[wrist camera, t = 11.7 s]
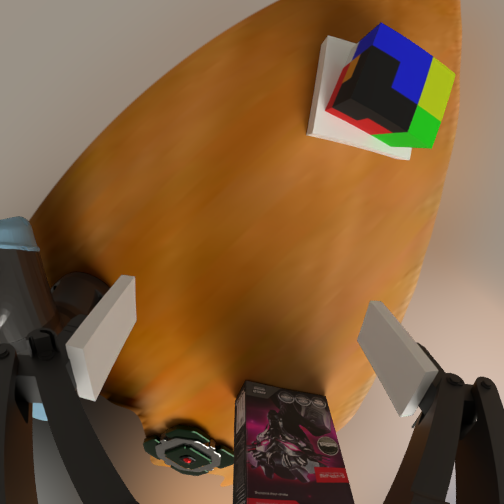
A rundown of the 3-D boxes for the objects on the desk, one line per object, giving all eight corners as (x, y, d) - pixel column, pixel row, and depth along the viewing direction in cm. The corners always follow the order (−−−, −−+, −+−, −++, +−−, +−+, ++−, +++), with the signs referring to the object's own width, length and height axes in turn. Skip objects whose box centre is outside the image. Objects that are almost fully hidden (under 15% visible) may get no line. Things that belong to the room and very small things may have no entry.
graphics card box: (328, 394, 53) (361, 514, 27) (313, 416, 55) (336, 529, 30) (245, 377, 51) (244, 514, 25) (233, 401, 53) (228, 528, 28)
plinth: (306, 135, 38) (312, 133, 35) (321, 44, 34) (328, 35, 30) (396, 158, 39) (409, 160, 36) (408, 73, 35) (421, 68, 31)
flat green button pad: (191, 470, 63) (189, 484, 59) (138, 438, 59) (133, 452, 55) (243, 453, 60) (243, 467, 56) (187, 416, 55) (184, 432, 51)
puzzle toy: (351, 48, 31) (381, 22, 21) (413, 86, 32) (455, 74, 23) (324, 111, 34) (350, 98, 24) (390, 147, 35) (431, 148, 26)
